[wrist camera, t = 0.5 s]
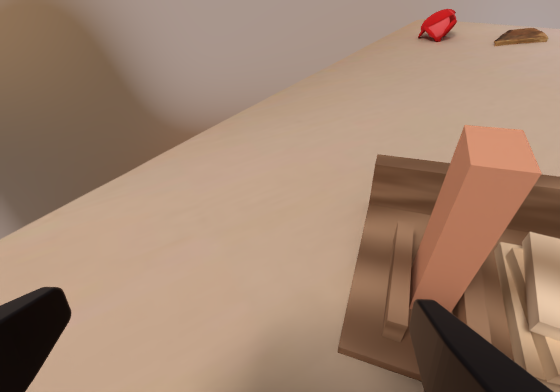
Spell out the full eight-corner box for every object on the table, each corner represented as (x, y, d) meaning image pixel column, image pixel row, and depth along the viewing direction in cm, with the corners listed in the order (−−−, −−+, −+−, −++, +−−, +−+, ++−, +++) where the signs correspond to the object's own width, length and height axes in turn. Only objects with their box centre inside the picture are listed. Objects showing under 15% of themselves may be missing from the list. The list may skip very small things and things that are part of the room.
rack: (749, 495, 14) (922, 487, 10) (337, 352, 20) (342, 312, 16) (611, 242, 25) (668, 190, 21) (370, 200, 31) (377, 154, 27)
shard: (491, 48, 62) (494, 39, 61) (476, 38, 68) (479, 30, 67) (547, 44, 61) (551, 35, 60) (526, 34, 67) (530, 25, 65)
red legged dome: (462, 20, 67) (443, 3, 68) (462, 16, 62) (441, -2, 63) (433, 51, 72) (415, 35, 73) (431, 49, 67) (412, 32, 68)
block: (446, 318, 20) (541, 173, 12) (408, 308, 21) (471, 164, 12) (445, 277, 23) (523, 130, 14) (410, 268, 24) (464, 125, 15)
